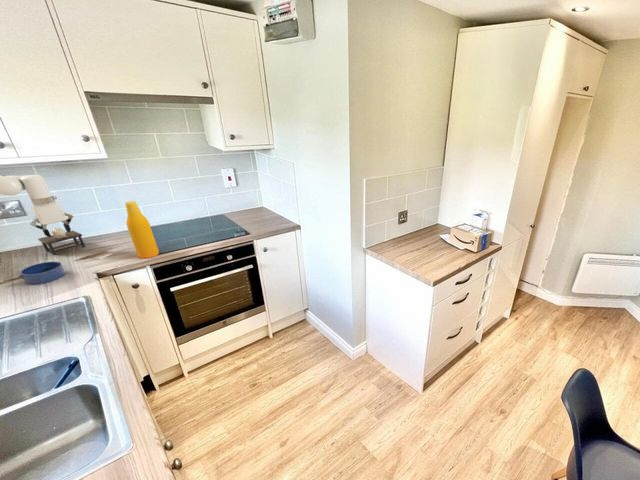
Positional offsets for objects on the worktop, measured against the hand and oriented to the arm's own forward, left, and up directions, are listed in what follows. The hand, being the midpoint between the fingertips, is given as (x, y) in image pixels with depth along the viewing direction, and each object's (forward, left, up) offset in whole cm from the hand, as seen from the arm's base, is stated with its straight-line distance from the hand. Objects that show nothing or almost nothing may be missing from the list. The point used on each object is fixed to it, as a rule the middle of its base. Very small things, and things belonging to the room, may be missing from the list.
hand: (59, 233), depth 167 cm
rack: (0, 0, -10) cm, 10 cm away
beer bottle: (+20, -38, -11) cm, 44 cm away
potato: (0, 0, -1) cm, 1 cm away
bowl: (-17, -25, -10) cm, 32 cm away
